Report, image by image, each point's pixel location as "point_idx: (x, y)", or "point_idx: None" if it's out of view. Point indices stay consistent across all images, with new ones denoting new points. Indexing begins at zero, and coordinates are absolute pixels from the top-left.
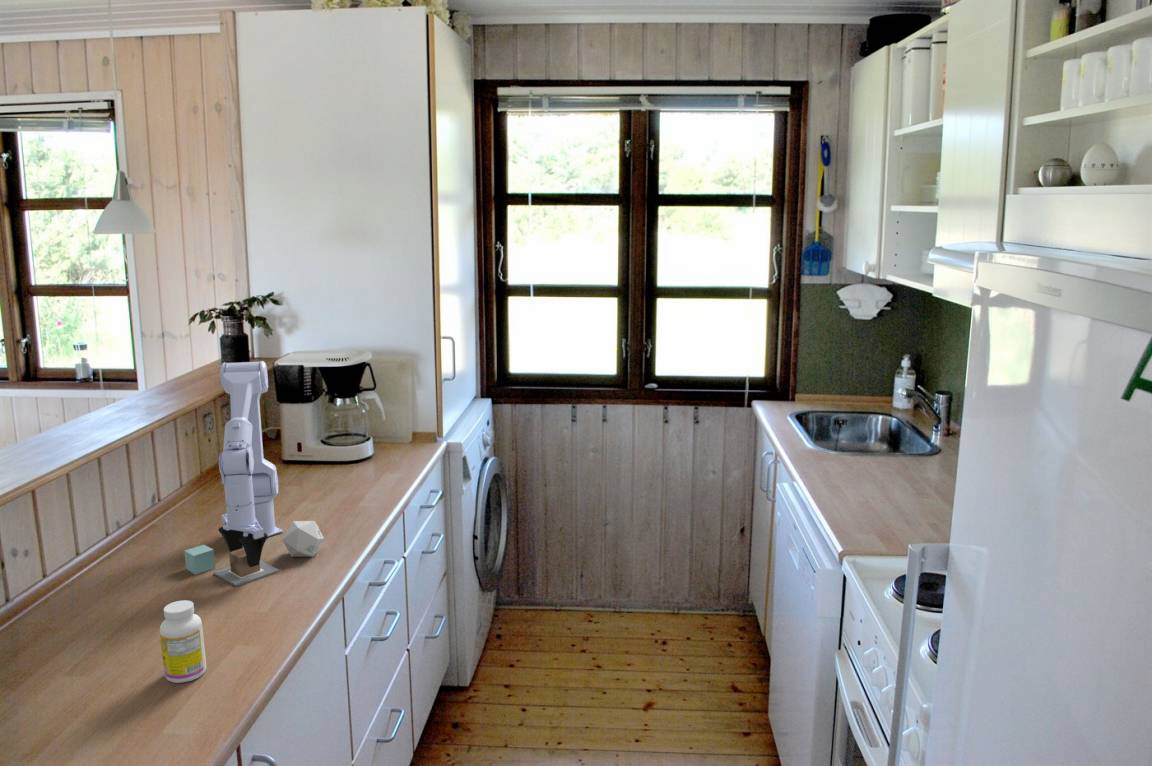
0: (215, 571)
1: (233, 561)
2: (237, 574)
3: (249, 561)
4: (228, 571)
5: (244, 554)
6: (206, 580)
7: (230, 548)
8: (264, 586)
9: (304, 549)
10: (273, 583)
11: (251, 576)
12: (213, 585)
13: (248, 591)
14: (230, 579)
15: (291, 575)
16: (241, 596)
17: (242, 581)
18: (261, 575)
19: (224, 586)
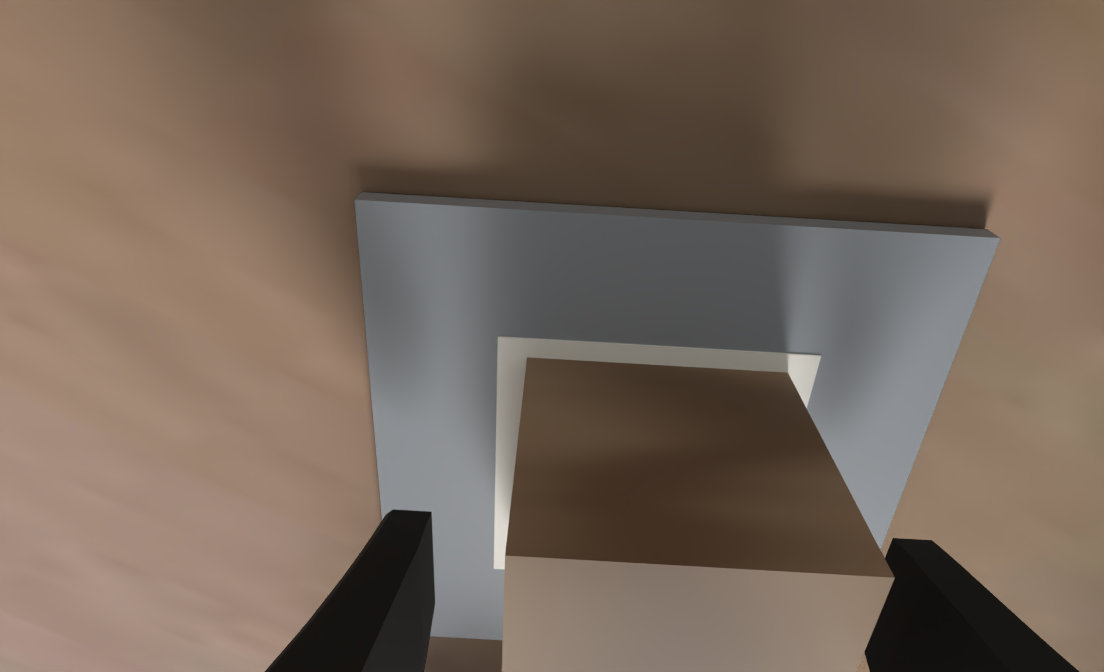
0: (989, 264)
1: (724, 475)
2: (621, 368)
3: (349, 573)
4: (818, 357)
5: (570, 653)
6: (910, 44)
7: (990, 661)
8: (145, 386)
9: None
10: (161, 470)
11: (453, 430)
12: (662, 12)
13: (119, 210)
14: (582, 248)
15: (233, 629)
16: (11, 67)
17: (401, 304)
18: (394, 497)
19: (498, 98)
